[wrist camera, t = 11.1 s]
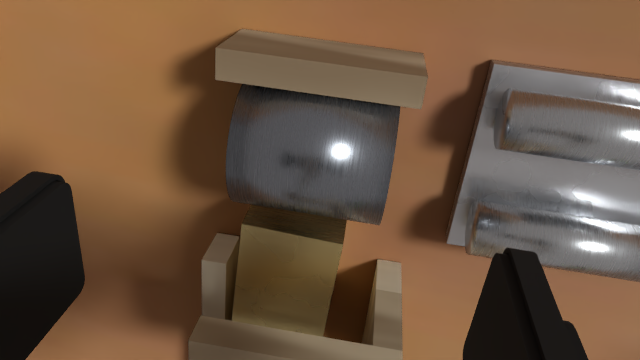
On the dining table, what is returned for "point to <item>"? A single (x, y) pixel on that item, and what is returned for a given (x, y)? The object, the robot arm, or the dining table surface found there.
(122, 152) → the dining table surface
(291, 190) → the dark grey short cylinder
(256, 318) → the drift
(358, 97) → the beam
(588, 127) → the v block
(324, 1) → the dining table surface
